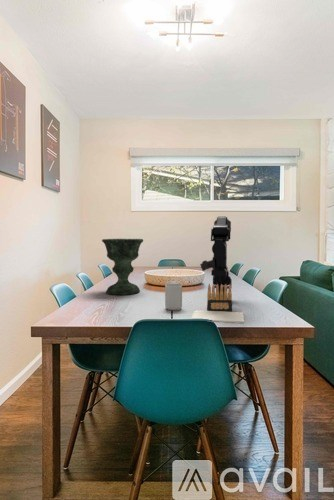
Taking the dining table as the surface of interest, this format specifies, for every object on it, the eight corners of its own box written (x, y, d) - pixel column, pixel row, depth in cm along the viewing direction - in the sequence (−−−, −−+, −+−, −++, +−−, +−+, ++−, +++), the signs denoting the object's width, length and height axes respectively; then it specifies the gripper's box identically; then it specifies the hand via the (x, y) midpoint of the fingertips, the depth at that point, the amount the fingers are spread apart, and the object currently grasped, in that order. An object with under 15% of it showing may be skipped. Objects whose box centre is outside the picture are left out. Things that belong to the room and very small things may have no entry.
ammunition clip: (207, 311, 142) (207, 284, 141) (206, 310, 143) (206, 283, 143) (232, 311, 141) (232, 284, 141) (231, 310, 143) (231, 283, 143)
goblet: (100, 290, 193) (100, 238, 192) (138, 288, 200) (138, 238, 198) (105, 297, 172) (104, 239, 171) (147, 294, 179) (147, 239, 178)
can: (166, 311, 143) (166, 283, 142) (163, 307, 150) (163, 281, 149) (183, 310, 144) (183, 283, 143) (179, 306, 151) (179, 280, 151)
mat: (195, 311, 142) (195, 310, 142) (243, 313, 138) (243, 312, 138) (190, 320, 128) (190, 318, 128) (243, 323, 124) (243, 321, 124)
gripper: (203, 252, 156) (203, 285, 157) (199, 255, 138) (199, 292, 138) (227, 253, 154) (227, 286, 154) (226, 255, 135) (226, 293, 136)
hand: (219, 289), depth 146 cm, fingers closed
